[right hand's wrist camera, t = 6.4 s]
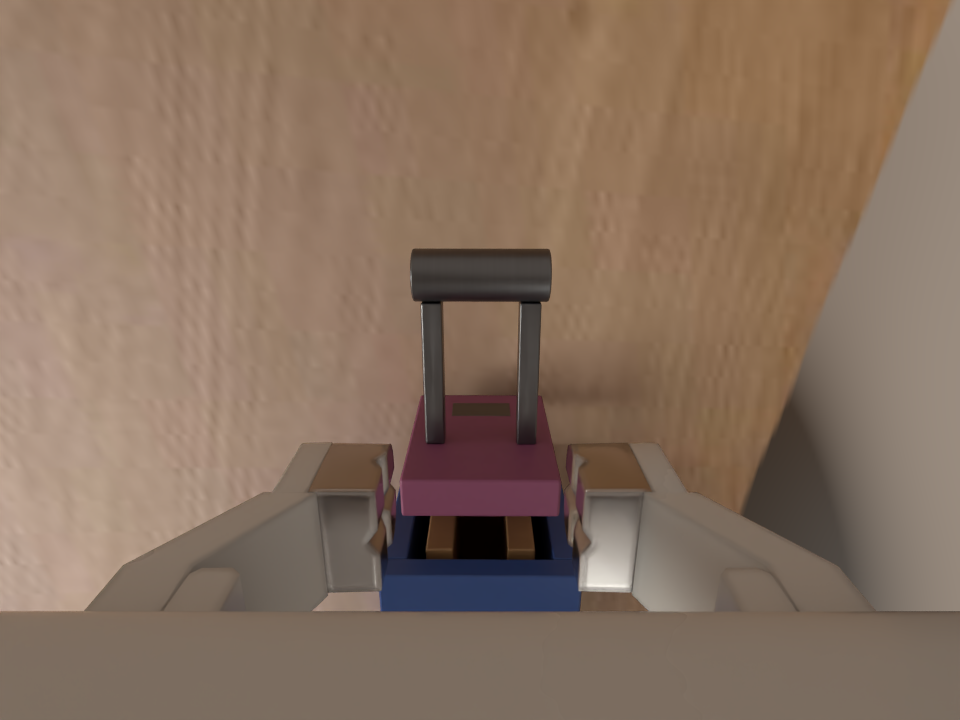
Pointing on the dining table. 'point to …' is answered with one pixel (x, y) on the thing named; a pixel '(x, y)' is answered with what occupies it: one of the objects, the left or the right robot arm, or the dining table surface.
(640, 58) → the dining table surface
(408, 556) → the tall blue box
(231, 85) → the dining table surface
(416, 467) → the drawer
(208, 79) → the dining table surface
